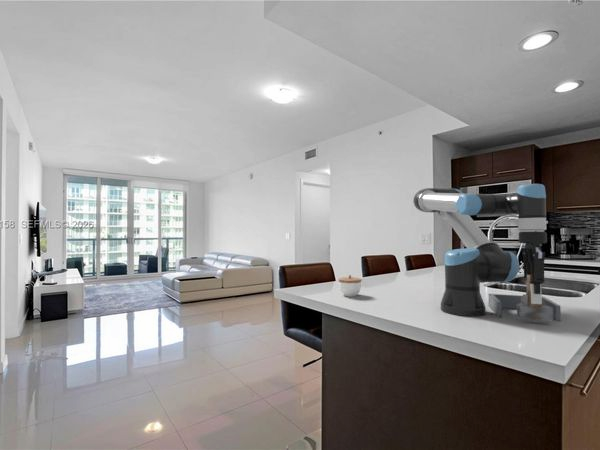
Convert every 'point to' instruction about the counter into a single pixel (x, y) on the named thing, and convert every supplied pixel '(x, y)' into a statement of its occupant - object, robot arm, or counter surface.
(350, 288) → the lidded jar
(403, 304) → the counter surface
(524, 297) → the rubber duck
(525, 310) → the scraper
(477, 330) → the counter surface
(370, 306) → the counter surface
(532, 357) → the counter surface
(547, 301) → the box
